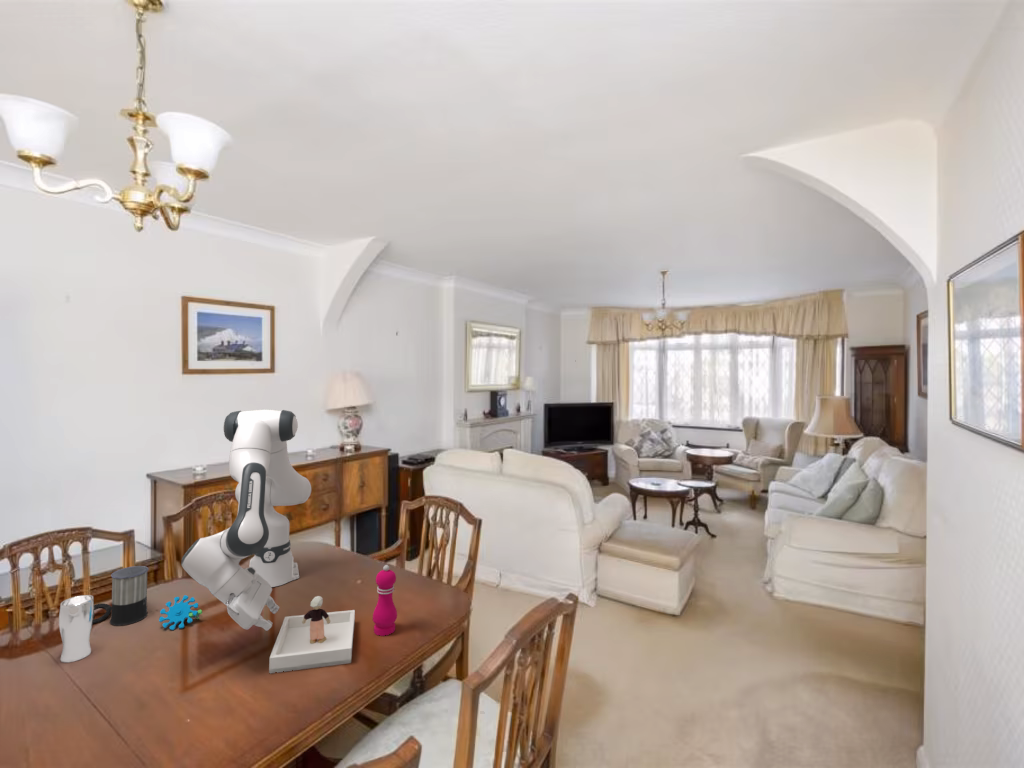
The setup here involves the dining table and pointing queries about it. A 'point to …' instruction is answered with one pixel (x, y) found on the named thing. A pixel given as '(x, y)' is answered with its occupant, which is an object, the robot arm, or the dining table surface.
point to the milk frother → (127, 596)
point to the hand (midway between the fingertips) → (273, 618)
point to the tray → (298, 651)
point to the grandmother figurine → (316, 620)
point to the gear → (180, 612)
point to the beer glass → (76, 627)
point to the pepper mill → (385, 603)
